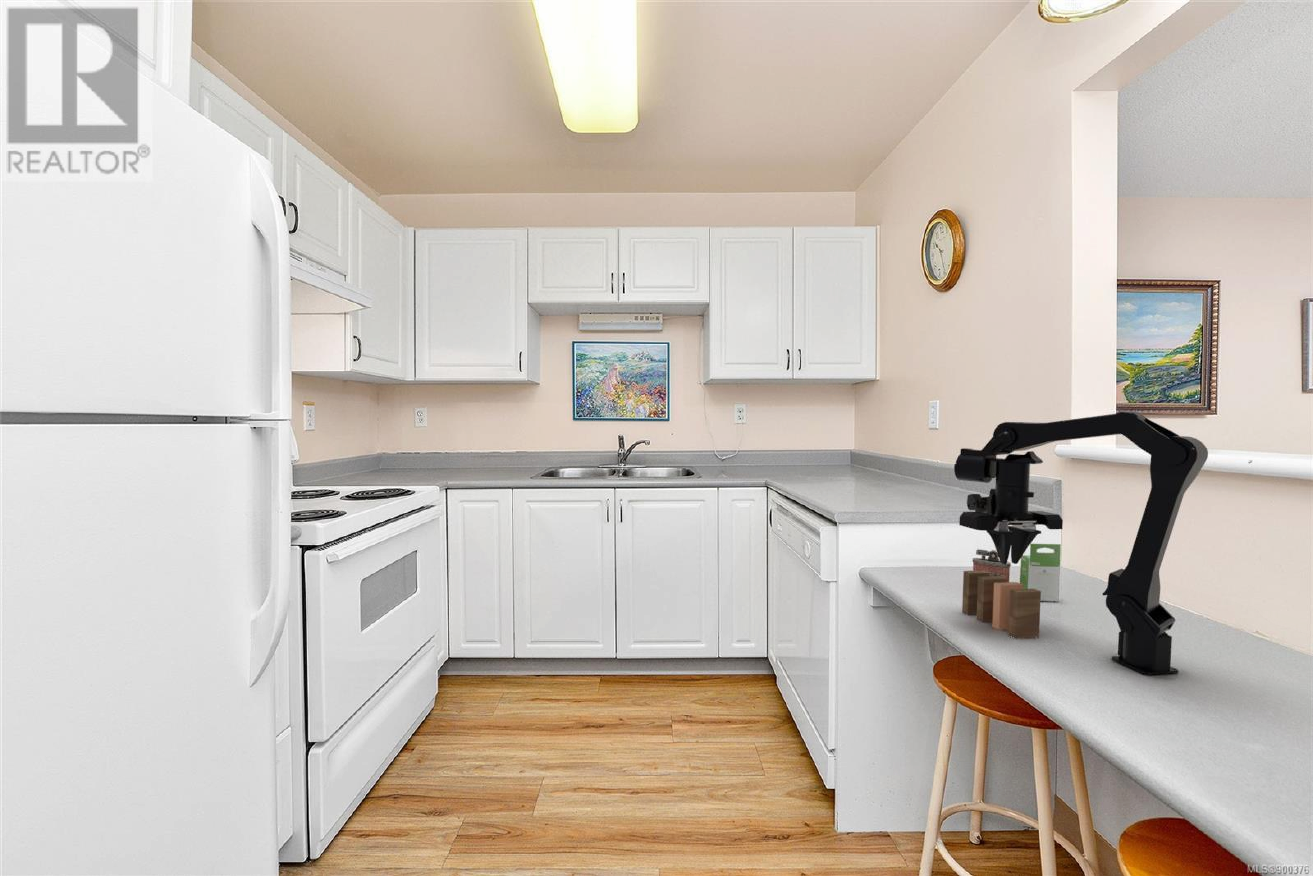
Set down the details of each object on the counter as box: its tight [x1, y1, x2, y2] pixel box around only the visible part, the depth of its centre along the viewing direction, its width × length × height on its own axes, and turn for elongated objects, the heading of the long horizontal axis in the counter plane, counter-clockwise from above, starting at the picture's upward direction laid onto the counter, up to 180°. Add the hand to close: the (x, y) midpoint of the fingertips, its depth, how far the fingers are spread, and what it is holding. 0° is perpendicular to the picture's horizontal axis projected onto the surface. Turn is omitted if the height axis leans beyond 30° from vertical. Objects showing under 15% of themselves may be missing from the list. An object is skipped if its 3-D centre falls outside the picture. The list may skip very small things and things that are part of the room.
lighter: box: [972, 548, 1012, 582], centre depth 144 cm, size 8×3×10 cm, turn 58°
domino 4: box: [1008, 589, 1042, 640], centre depth 114 cm, size 2×5×9 cm, turn 99°
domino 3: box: [991, 581, 1023, 631], centre depth 118 cm, size 2×5×9 cm, turn 99°
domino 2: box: [976, 576, 1006, 623], centre depth 123 cm, size 2×5×9 cm, turn 99°
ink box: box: [1019, 543, 1062, 603], centre depth 138 cm, size 7×4×13 cm, turn 84°
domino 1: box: [961, 570, 991, 616], centre depth 127 cm, size 2×5×9 cm, turn 99°
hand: (1008, 563), depth 118 cm, fingers open, 2 cm apart
